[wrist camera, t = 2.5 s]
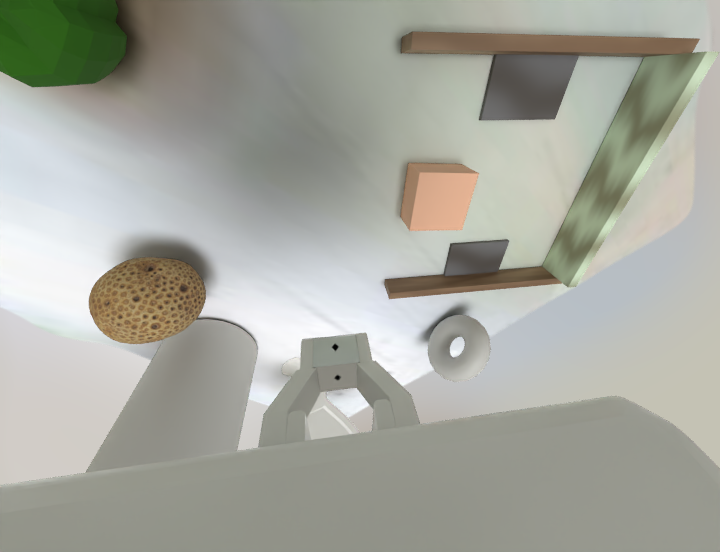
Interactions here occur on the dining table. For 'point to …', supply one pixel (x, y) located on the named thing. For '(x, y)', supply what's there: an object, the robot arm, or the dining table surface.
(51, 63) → the bell pepper
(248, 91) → the dining table surface
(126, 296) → the natural sponge
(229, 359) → the cylinder vase
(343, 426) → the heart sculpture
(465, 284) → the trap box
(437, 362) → the donut
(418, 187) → the terracotta block
